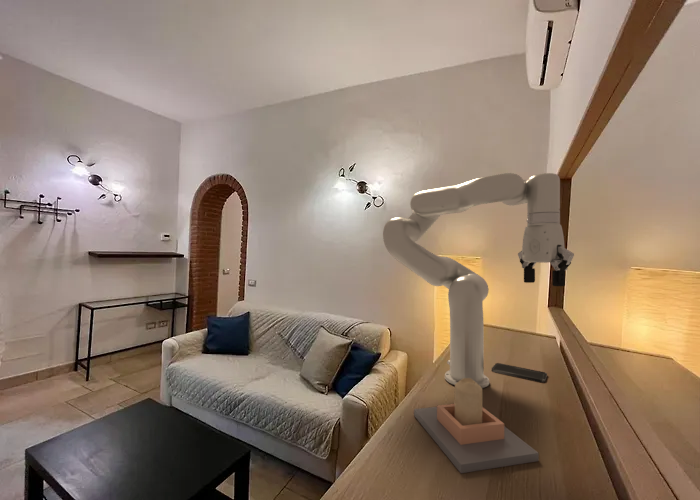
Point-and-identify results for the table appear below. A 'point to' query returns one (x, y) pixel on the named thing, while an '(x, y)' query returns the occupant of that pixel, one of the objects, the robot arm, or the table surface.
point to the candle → (468, 402)
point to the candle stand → (474, 440)
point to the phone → (520, 372)
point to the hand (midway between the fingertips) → (543, 284)
